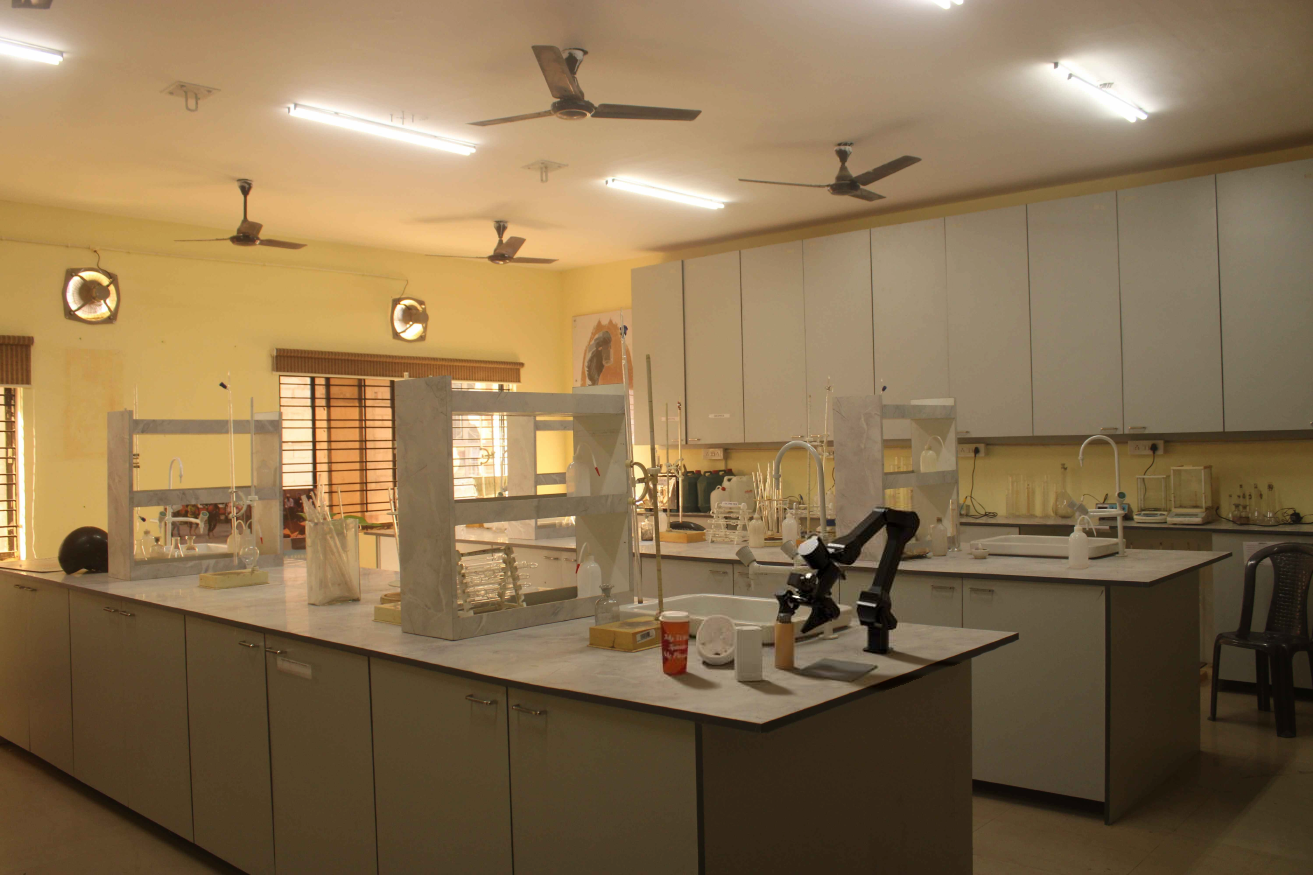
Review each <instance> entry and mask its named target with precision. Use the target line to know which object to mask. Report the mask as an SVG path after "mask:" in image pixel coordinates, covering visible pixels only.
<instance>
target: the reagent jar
mask: <svg viewBox="0 0 1313 875" xmlns="http://www.w3.org/2000/svg"><path fill="white" fill-rule="evenodd" d="M777 616H778V621H774V668H775V669H778V670H793V669H794V668H795V656H796V655H795V650H796V649H795V643H796V642H795V639H796V638H795V634H796V633H795V631H796V630H795V629H796V628H795V621H792V617H791V614H789V613H779V614H778V613H777Z"/></svg>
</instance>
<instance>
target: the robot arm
mask: <svg viewBox="0 0 1313 875" xmlns="http://www.w3.org/2000/svg"><path fill="white" fill-rule="evenodd" d="M920 524H921V519H920V517H919V515H918V513H917V512H916V511H915V510H903V509H895V508H891V507H890V506H876V507H874V508H873V509H872V510H871V512H870V513H869V514H868V515H867V516H866V517H865V518H864V519H863V520H862V521H861V522H860V523H859V524H857V525H856V526H855V527H854V528H853V529H852V530H851V531H850V532H848V533H847V534H845V535H841V536H839V537H836V538H835V539H833V540H831V541H830V542H829V543H828V544H827V545H825V544H824V542H823V540H822V539H821V537H820V536H818V535H812V536H811V538H808V539H807V540H805V541H803V542H802V543H800V545H799V546H798V548H797V553H798V555H799V556H800V557H801V558H802V560H803V562H805V564H806V565H807V566H808V568H809V569H810V570H814V572H813V573H811V572H808V573H806V574H803V573H799V572H793V571H790V573H789V576H788V578H787V580H786V585H787V586H791V587H793V588H795V590H794V592H796V594H797V595H796V594H795V593H794V592H793V591H792V590H791V589H788V588H778V589H777V590H776V592H774V597H775V598H776V601H777V602H778V605H779V607H778V613H777V616H776V621H778V614H779V613H789V614H791V618H792V617H793V616H795V614H796V611H797V610H799V608H800V606H802V607H807V608H809V609H811V612H810V614H809V616H808V618H807V619H806V621H805V623H804V624H803V626H802V628H801V630H800V633H801V634H802V635H805V634H807V633H809V632H811V631H812V630H815V629H816V628H818V627H820V626H822V625H824V624H827V623H831V622H832V621H837V620H838V619H839V617H840V616H841V608H840V607H839V606H838V604H837V603H836V601H834V599H833V598H832V597H831V596H832V595H833V592H832V591H831V590H832V588H833V587H834V585H835V584H836V582H838V580H840V581H846V580H847V576H846V573H845V569H844V568H843V569H842V568H841V567H840V566H839V565H842V566H848V567H849V566H852V565H854V564H855V563H856V561H857V560H858V558H859V557H860V556H861V554H862V549H863V547H864V546H865V545H866V544H867V543H868V542H870V540H871V539H872V538H873V537H874V536H875V535H876V534H877V533H879V532H880V531H881V530H882V529H883V528H884V527H885V531H886V536H887V540H886V542H885V546H884V548H883V550H882V554H881V557H880V561H879V564H878V566H877V569H876V573H875V574H874V578H873V581H872V583H871V586H870V588H868V590H864V589H862V590H861V592H860V594H859V597H858V600H857V601H856V603H855V604H856V605H857V606H856V614H857V617H858V621H859V625H860V626H861V627H866V641H867V642H866V647H863V648H862V651H864V652H871V653H878V654H888V653H889V652H891V651H893V650H894V647H892V646H890V631H894V630H897V626H898V621H899V620H897V618H896V617H895V616H894V614H893V612H891V610H892V606H893V605H892V599H891V595H890V593H891V589H892V587H893V584H894V581H895V578H896V575H897V571H898V569H899V565H900V563H901V560H902V557H903V554H904V551H905V548H906V545H907V544H908V543H909V542H910V541H911V540H912V539H914V538H915V536H916V534H917V532H918V531H919V528H920ZM776 621H775V622H776Z"/></svg>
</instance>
